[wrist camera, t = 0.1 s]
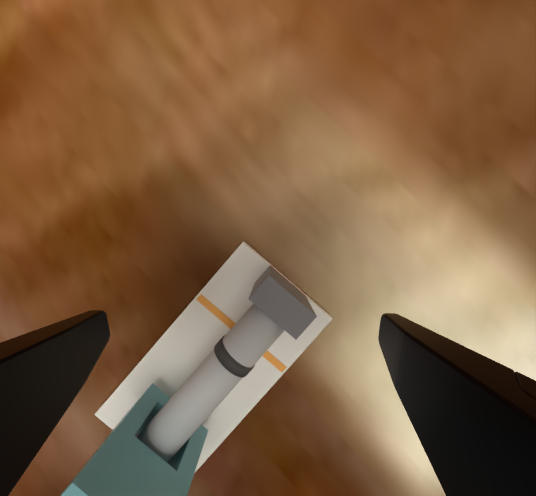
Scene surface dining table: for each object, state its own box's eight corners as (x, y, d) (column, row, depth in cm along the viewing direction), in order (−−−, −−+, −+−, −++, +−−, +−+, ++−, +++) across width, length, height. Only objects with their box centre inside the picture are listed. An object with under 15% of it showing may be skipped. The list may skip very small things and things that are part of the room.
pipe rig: (186, 475, 25) (153, 567, 18) (103, 406, 25) (37, 472, 18) (329, 314, 24) (352, 347, 17) (244, 241, 24) (232, 244, 17)
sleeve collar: (185, 456, 23) (127, 601, 14) (129, 409, 23) (34, 526, 14) (208, 430, 23) (165, 560, 14) (152, 383, 22) (72, 482, 13)
